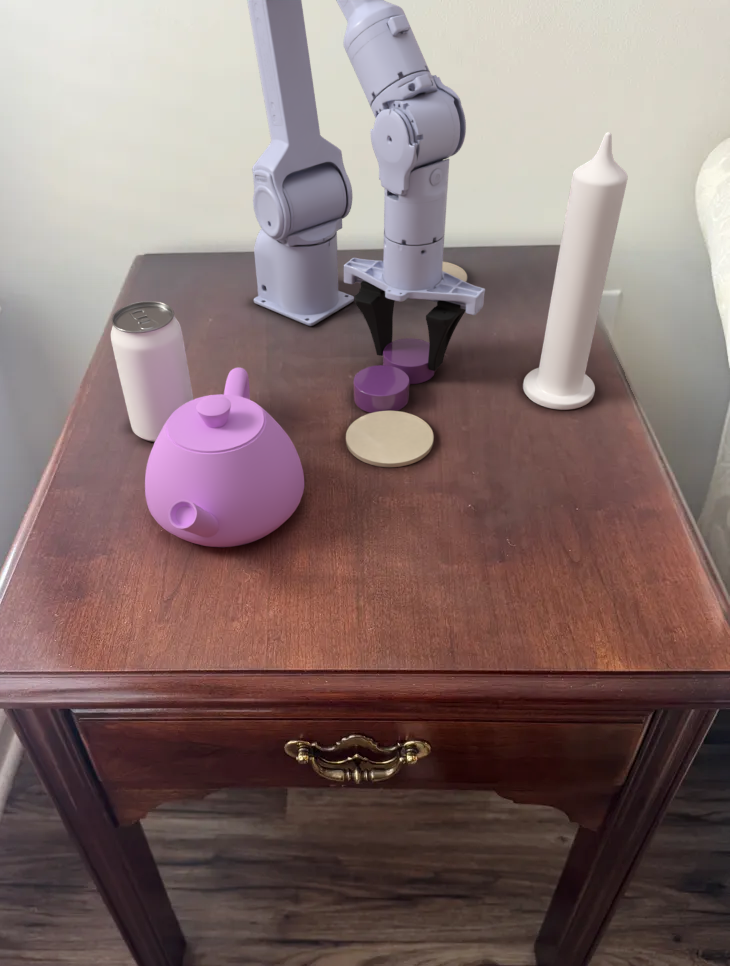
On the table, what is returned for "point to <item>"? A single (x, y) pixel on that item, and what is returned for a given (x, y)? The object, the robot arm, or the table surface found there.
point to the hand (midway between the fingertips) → (409, 358)
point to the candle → (579, 283)
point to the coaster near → (389, 438)
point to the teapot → (223, 470)
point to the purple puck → (381, 388)
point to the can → (150, 364)
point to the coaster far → (454, 271)
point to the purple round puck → (409, 358)
